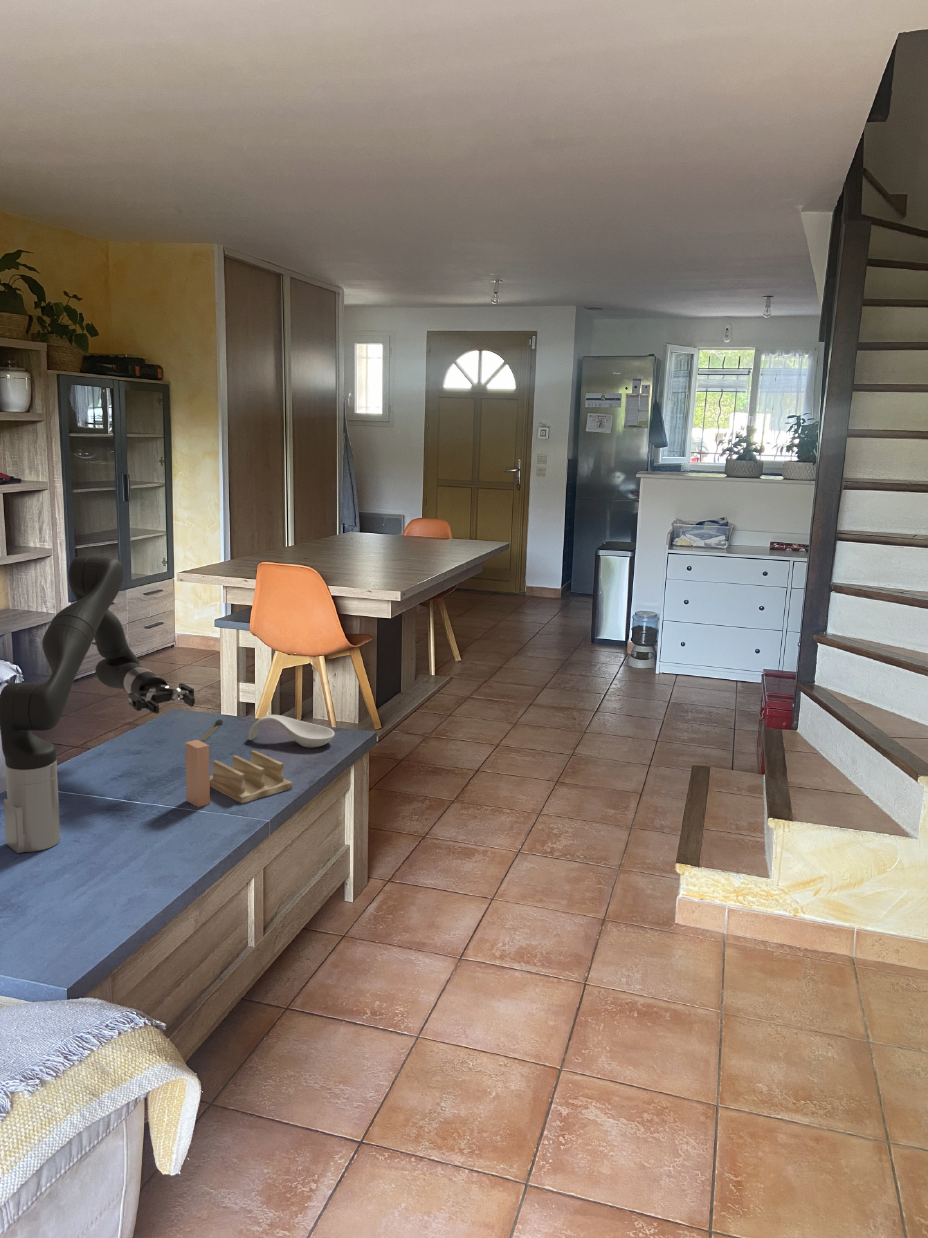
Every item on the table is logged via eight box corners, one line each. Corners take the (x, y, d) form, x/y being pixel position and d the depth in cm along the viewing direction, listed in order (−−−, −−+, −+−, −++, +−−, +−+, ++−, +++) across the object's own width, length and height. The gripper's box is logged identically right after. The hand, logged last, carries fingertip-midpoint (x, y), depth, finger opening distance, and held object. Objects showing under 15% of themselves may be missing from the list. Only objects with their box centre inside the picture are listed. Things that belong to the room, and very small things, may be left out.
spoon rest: (339, 739, 254) (339, 715, 252) (327, 753, 242) (328, 728, 241) (257, 732, 257) (257, 708, 255) (242, 746, 245) (242, 720, 244)
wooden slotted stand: (241, 803, 207) (241, 778, 206) (204, 783, 217) (204, 759, 216) (292, 788, 217) (292, 764, 216) (253, 769, 228) (253, 747, 226)
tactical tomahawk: (214, 751, 242) (214, 747, 242) (189, 747, 243) (190, 743, 243) (238, 725, 263) (239, 722, 263) (216, 722, 263) (216, 718, 263)
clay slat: (198, 807, 204) (197, 748, 201) (186, 800, 207) (185, 742, 204) (209, 804, 206) (209, 745, 203) (198, 797, 209) (197, 739, 206)
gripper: (115, 676, 215) (145, 696, 203) (172, 666, 224) (203, 685, 213) (116, 706, 217) (146, 727, 205) (173, 694, 226) (204, 715, 215)
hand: (175, 706), depth 209 cm, fingers open, 8 cm apart
